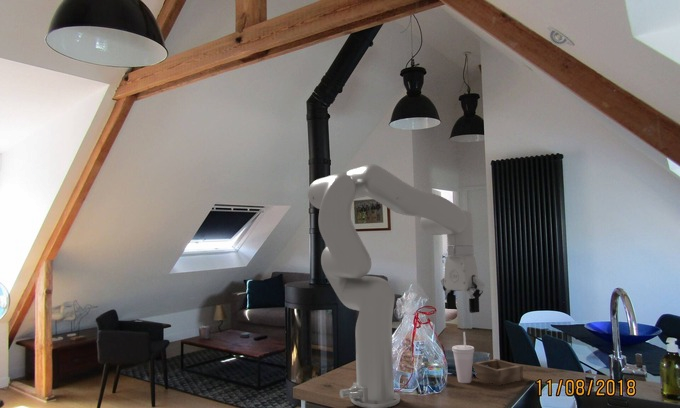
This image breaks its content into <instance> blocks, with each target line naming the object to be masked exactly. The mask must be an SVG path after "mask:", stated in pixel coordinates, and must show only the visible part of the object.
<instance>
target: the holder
mask: <svg viewBox="0 0 680 408" xmlns="http://www.w3.org/2000/svg"><path fill="white" fill-rule="evenodd" d="M484 365H488V366H489V367H488V366H484ZM472 366H473V368H474V371H475V372H476V373H477V374H476V377H477V378H479V379H478V380H480V379H481V380H480V381H483V380H484V382H486V381H487V382H486V383H489V382H490V383H489V384H492V383H493V384H492V385H496V386H498V385H499V386H502V385H501V384H503V385H506V384H505V383H508V384H510V383H509V382H512V383H516V382H515V381H517V382H521V380H522V381H524V373H523V372H524V370H523V368H524V366H523V365H521V364H520V365H519V364H516V363H513V362H509V361H506V360H502V359H498V358H493V359H489V360H484V361H477V362H473V364H472ZM477 378H476V379H477Z"/></svg>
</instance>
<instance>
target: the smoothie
mask: <svg viewBox="0 0 680 408" xmlns="http://www.w3.org/2000/svg"><path fill="white" fill-rule="evenodd" d="M462 333H463V344H457V345H453V346H452V348H451V351H452V352H453V358H454V364H455V370H456V372H455V373H456V377H457V381H458V382H457V383H461V384H470V383H472V378H473V374H472V364H473V363H474V352H475V347H474V346H473V345H469V344H468V345H467V338H466V331H463V332H462Z"/></svg>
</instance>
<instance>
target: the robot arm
mask: <svg viewBox="0 0 680 408" xmlns="http://www.w3.org/2000/svg"><path fill="white" fill-rule="evenodd" d="M365 197H368V198H370V199H372V200H374V201H375V202H378V203H379V204H380V205H383V206H384V207H386V208H387V209H389V210H391V211H393V212H394V213H396V214H399V215H402V216H409V217H417V218H420V221H419V222H420V228H421V229H422V231H424V232H425V233H426V234H428V235H432V236H442V235H446V238H447V239H446V241H447V242H446V243H447V249H446V250H447V256H445V261H444V271H443V272H444V274H443V275H444V277H443V278H442V279H441V280H440V282H441V285H442V289H443V292H444V295H445V296H446V298H445V300H446V309H448V310H449V309H450V310H451V309H456V308H457V295H456V294H455V293H456V291H457V292H467V293H468V295H469V297H470V298H468V309H469V313H471V314H474V313H480V299H481V295H482V294H483V292H484V288H485V285H486V284H485V283H484V282H483V281H482V280H481V279H480V278H478V277H479V276H478V275H479V274H478V267H477V261H476V257H475V255H474V254H475V251H474V250H475V249H474V248H475V246H474V225H473V224H474V223H473V214H472V212H471V211H470V210H466V209H465V210H464V209H462V208H461V207H459V206H458V205H457V204H455V203H453V202H451V200H449V199H447V198H445V197H443V196H440V195H438V194H435V193H432V192H431V191H426V190H424V189H421V188H418V187H414V186H412V185H410V184H408V183H407V182H406V181H404V180H402V179H400V178H399V177H397V176H396V175H394V174H393V173H391V172H390V171H388V170H386V169H385V168H384V167H382V166H380V165H377V164H374V163H369V164H365V165H362V166H357V167H354V168H351V169H349V170H346V171H343V172H340V173H335V174H334V173H333V174H330V175H328V176H327V175H326V176H325V177H320V178H317V179H316V180H314V181H313V182H312V183H311V184H310V185H309V187H308V189H307V199H308V201H309V203H310V204H311V205H312V207H314V208H316V209H317V210H319V211H318V212H319V213H318V218H317V219H318V229H319V232H320V235H321V238H322V239H323V241H324V244H325V248H324V249H323V250H322V253H321V257H320V264H321V268H322V271H323V273H324V275H325V277H326V279H327V281H328V283H329V285H331V287H332V289H333V291H334V292H335V294H336V297H337V298H338V300H339V301H340V302H341V303H342V304H343V306H345V307H346V308H348V309H350V310H353V311H358V316H357V320H356V323H355V331H354V332H355V363H356V364H355V366H356V367H355V368H356V370H355V372H356V382H353V383H352V386H350V388H343V389H342V388H341V389H340V390H339V397H340V398H341V399H343V398H347V397H348V398H349V399H350V401H351V403H353V405H355V406H357V407H361V408H391V407H394V406H396V405H398V404H399V403H400V402H401V395H400V394H399V393H397V391H394V388H395V387H394V359H393V358H394V357H393V313H394V307H395V300H396V299H395V298H396V297H395V290H394V288H393V286H392V285H391V284H390V282H388V281H387V280H386V279H384V278H382V277H380V276H379V277H378V276H372V275H371V276H370V275H367V274H369V272H370V271H371V268H372V258H371V256H370V253H369V252H368V250H367V248H366V246H365V244H364V243H363V240H362V239H361V236H360V235H359V233H358V232H357V230H356V228H355V225H354V223H353V220H352V207H353V203H354V201H355V200H356V199H360V198H365Z"/></svg>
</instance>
